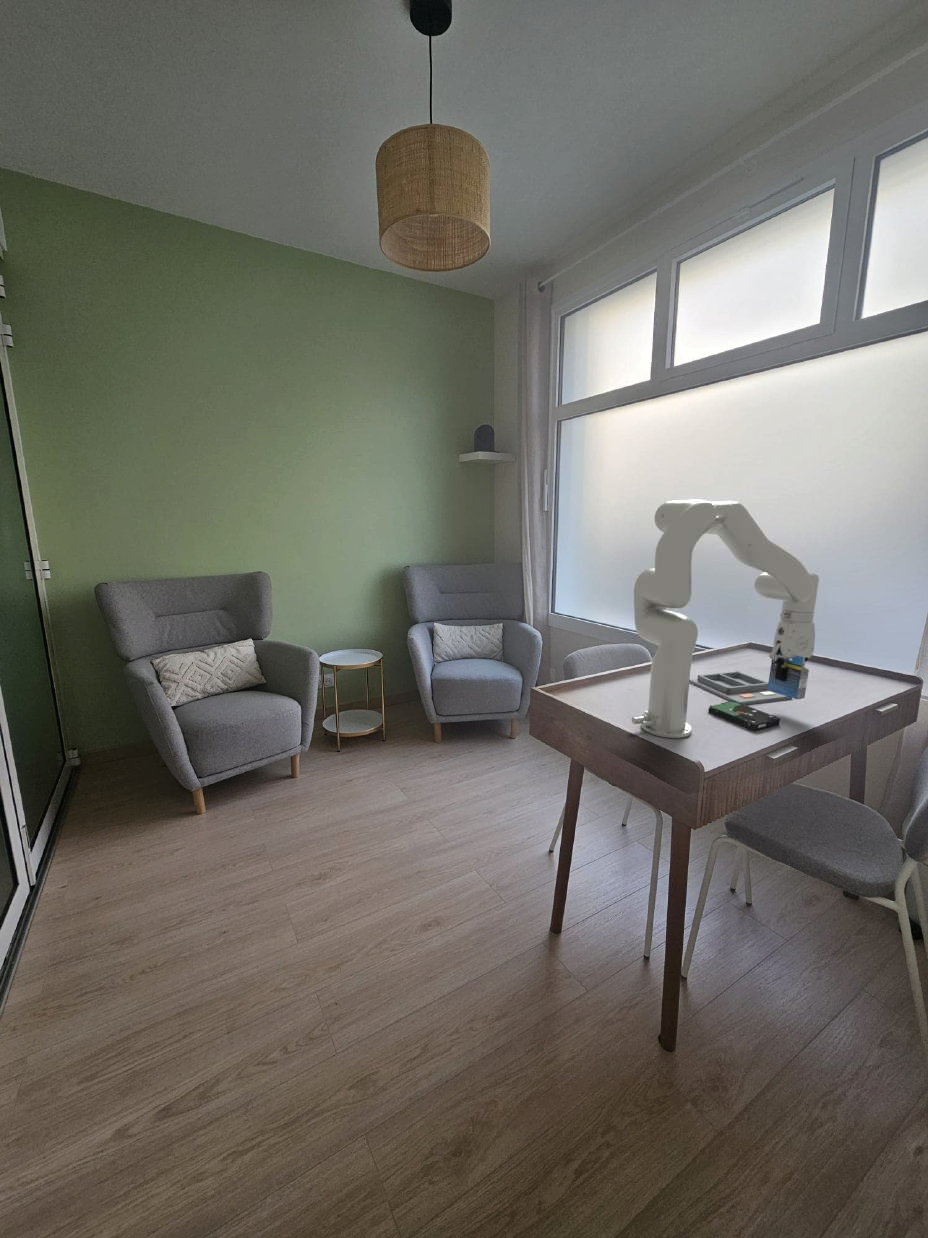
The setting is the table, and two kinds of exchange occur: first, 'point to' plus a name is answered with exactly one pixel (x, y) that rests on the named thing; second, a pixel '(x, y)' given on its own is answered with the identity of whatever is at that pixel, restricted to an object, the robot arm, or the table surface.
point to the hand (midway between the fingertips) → (787, 678)
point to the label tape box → (790, 679)
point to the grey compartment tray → (737, 687)
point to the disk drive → (744, 716)
